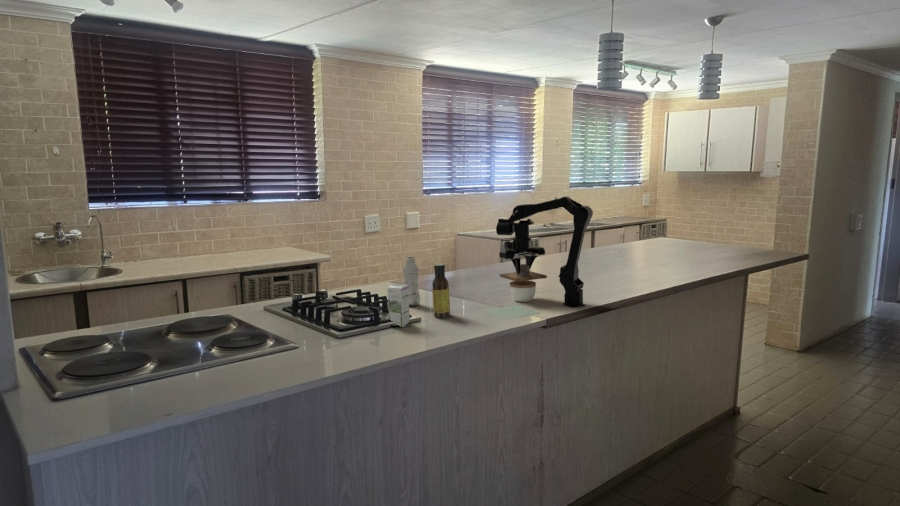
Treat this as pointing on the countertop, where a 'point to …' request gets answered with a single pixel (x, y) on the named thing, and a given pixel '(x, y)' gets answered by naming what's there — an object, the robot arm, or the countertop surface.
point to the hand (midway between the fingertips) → (522, 273)
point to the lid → (523, 274)
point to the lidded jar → (523, 290)
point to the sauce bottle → (440, 293)
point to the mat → (511, 311)
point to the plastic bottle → (412, 280)
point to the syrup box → (398, 304)
